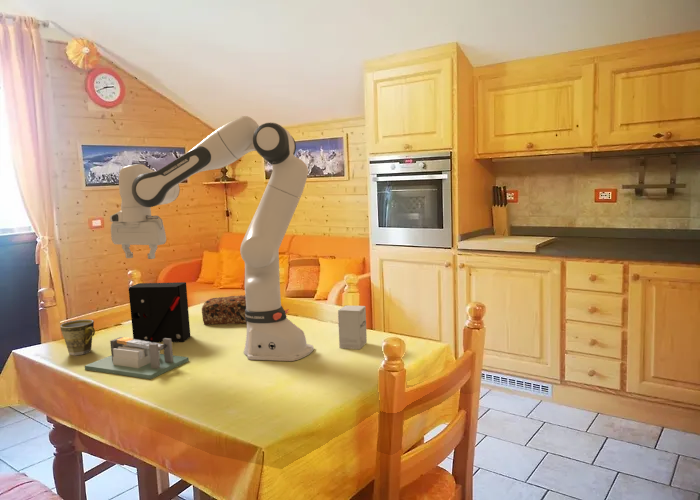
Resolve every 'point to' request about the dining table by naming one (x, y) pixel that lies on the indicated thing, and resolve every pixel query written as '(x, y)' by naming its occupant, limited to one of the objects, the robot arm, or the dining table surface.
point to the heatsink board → (136, 371)
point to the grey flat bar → (139, 343)
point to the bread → (224, 310)
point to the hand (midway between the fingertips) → (140, 258)
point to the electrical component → (159, 311)
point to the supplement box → (352, 327)
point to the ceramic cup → (78, 336)
